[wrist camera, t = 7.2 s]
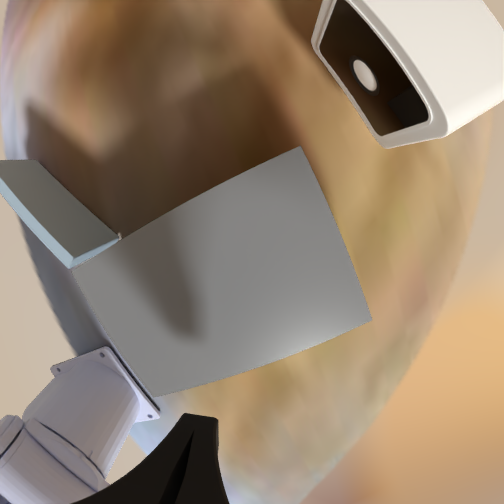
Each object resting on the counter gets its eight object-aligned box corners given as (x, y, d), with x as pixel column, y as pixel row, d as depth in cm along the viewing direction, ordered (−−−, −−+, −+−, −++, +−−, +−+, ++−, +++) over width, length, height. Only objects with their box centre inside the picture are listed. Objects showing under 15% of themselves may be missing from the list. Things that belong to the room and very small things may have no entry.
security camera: (300, 70, 15) (329, -31, 5) (383, 34, 13) (452, -45, 4) (358, 156, 16) (455, 136, 6) (435, 111, 15) (540, 80, 5)
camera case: (181, 343, 20) (153, 397, 14) (123, 244, 18) (71, 271, 12) (342, 276, 18) (372, 319, 12) (289, 157, 16) (300, 145, 10)
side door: (119, 237, 18) (73, 257, 13) (107, 259, 18) (62, 285, 13) (36, 159, 17) (-12, 160, 12) (27, 181, 17) (-21, 187, 12)
